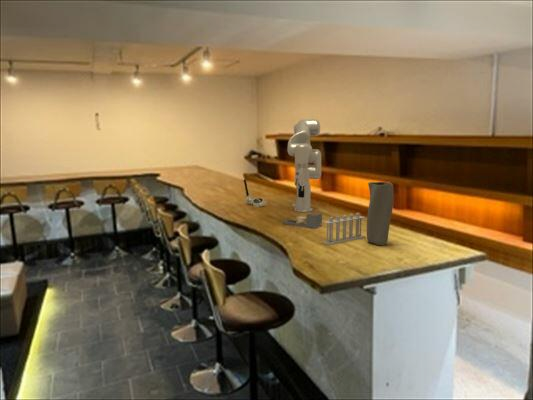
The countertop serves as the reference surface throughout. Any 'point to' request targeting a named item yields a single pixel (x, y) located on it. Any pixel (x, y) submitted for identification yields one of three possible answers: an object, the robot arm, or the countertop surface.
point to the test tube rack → (337, 221)
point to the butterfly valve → (249, 199)
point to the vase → (379, 212)
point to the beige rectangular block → (301, 220)
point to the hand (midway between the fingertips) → (301, 197)
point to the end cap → (314, 220)
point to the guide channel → (293, 223)
